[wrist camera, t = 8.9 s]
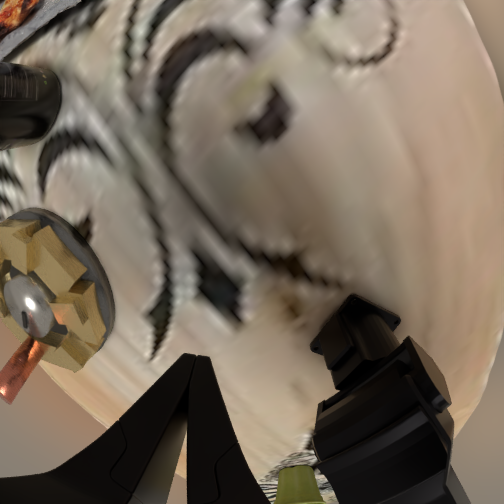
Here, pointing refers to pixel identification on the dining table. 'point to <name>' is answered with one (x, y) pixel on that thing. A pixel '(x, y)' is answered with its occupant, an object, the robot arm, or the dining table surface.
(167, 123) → the dining table surface
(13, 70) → the supplement bottle
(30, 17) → the food plate
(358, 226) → the dining table surface
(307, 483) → the plant pot
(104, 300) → the flange
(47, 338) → the handwheel
